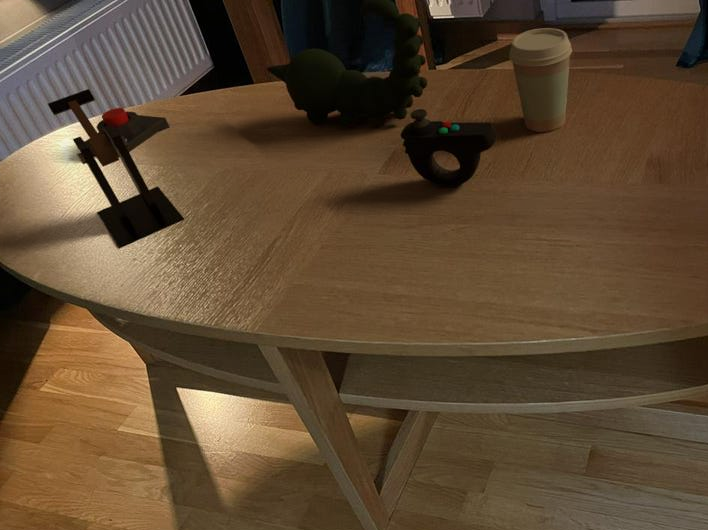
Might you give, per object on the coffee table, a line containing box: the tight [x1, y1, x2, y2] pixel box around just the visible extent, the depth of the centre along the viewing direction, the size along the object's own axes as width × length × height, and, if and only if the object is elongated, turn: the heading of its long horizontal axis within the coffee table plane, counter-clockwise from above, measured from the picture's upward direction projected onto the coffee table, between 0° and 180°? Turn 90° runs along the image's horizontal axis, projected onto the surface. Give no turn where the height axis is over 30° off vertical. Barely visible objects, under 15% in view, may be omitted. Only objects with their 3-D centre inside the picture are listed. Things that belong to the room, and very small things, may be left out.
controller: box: [400, 108, 498, 188], centre depth 90 cm, size 4×12×10 cm, turn 76°
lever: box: [47, 88, 120, 167], centre depth 92 cm, size 13×6×2 cm, turn 36°
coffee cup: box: [508, 27, 573, 133], centre depth 98 cm, size 8×8×12 cm
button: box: [101, 107, 129, 127], centre depth 113 cm, size 4×4×2 cm
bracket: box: [72, 125, 185, 249], centre depth 93 cm, size 12×9×13 cm
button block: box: [84, 111, 171, 158], centre depth 115 cm, size 11×9×4 cm
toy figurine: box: [266, 0, 428, 128], centre depth 105 cm, size 9×19×25 cm
